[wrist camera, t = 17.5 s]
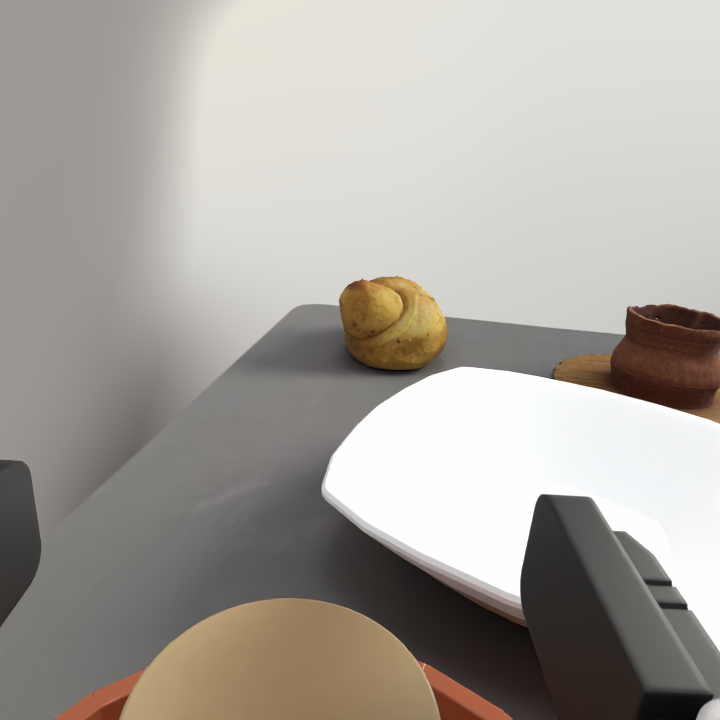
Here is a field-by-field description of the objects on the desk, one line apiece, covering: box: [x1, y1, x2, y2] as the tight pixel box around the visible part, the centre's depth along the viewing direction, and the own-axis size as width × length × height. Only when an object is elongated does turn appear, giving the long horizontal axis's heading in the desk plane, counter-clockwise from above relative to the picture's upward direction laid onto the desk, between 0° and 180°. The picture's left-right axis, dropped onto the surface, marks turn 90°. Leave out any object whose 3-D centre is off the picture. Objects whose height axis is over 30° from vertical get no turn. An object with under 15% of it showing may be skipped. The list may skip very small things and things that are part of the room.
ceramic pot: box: [553, 304, 720, 424], centre depth 51 cm, size 18×18×7 cm
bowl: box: [322, 367, 720, 651], centre depth 31 cm, size 22×22×5 cm
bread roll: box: [339, 276, 447, 370], centre depth 56 cm, size 13×10×8 cm
